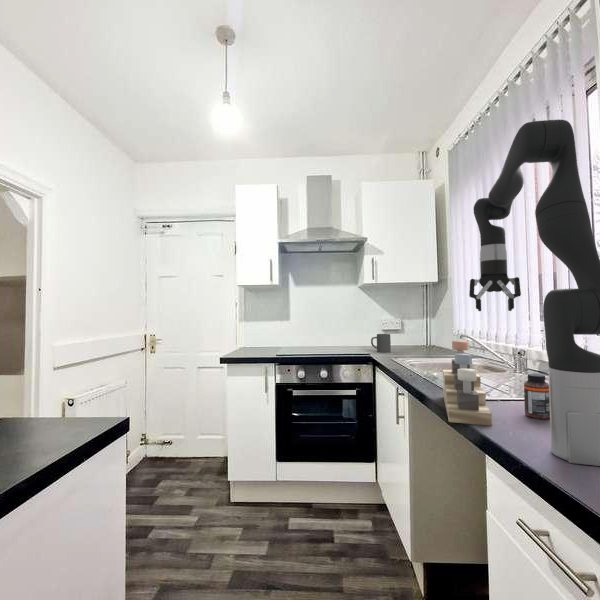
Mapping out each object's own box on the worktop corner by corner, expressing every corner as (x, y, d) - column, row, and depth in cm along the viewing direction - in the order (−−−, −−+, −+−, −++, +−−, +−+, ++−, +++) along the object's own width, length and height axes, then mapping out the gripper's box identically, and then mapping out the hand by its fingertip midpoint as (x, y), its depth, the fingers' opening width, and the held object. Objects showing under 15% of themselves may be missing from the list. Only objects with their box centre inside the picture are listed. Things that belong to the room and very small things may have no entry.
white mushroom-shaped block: (478, 397, 94) (477, 371, 95) (458, 396, 96) (458, 370, 96) (475, 393, 99) (475, 368, 99) (457, 392, 100) (456, 368, 100)
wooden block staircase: (491, 425, 91) (490, 373, 92) (448, 422, 95) (447, 371, 95) (476, 399, 118) (475, 358, 118) (443, 396, 121) (442, 357, 121)
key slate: (473, 379, 103) (472, 355, 103) (455, 378, 105) (455, 355, 105) (471, 376, 107) (470, 353, 108) (454, 375, 109) (454, 353, 109)
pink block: (469, 363, 112) (468, 342, 112) (453, 363, 114) (452, 341, 114) (467, 361, 116) (467, 340, 117) (452, 361, 118) (451, 340, 118)
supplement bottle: (526, 412, 103) (525, 371, 103) (551, 415, 99) (550, 374, 99) (523, 417, 98) (521, 374, 98) (549, 421, 94) (548, 377, 95)
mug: (387, 351, 252) (386, 333, 253) (393, 352, 243) (392, 334, 244) (368, 351, 250) (368, 334, 250) (374, 353, 241) (373, 335, 241)
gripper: (469, 259, 115) (471, 311, 114) (521, 257, 110) (523, 310, 109) (467, 262, 122) (469, 311, 121) (516, 260, 117) (518, 310, 116)
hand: (494, 311), depth 115 cm, fingers open, 8 cm apart
